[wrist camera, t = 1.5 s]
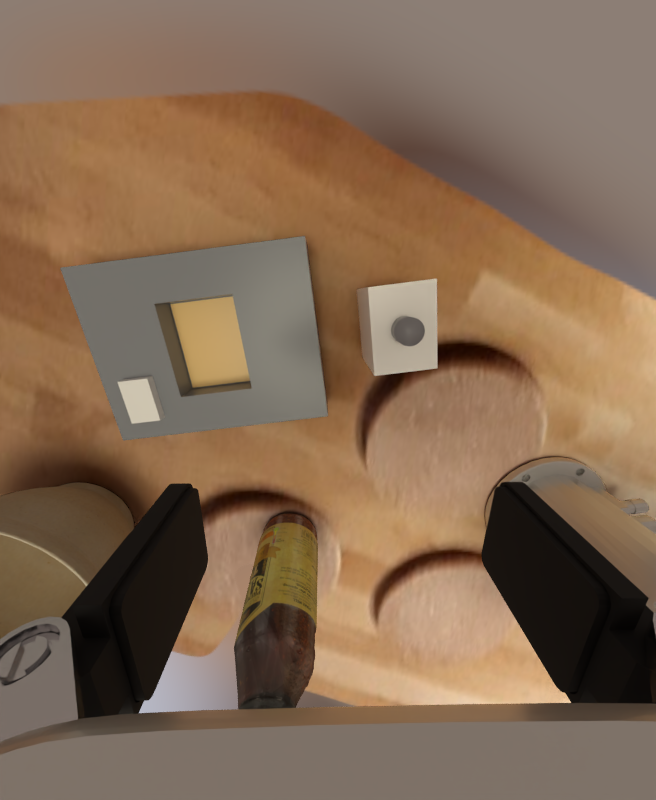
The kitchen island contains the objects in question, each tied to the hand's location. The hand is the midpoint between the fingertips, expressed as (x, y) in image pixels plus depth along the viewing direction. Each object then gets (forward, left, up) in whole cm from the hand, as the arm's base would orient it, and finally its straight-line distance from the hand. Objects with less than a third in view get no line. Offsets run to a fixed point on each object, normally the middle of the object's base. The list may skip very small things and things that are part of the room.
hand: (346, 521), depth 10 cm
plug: (-5, -4, -20) cm, 22 cm away
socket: (+10, -4, -20) cm, 23 cm away
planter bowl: (+28, +13, -21) cm, 37 cm away
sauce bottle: (+7, +18, -21) cm, 28 cm away
